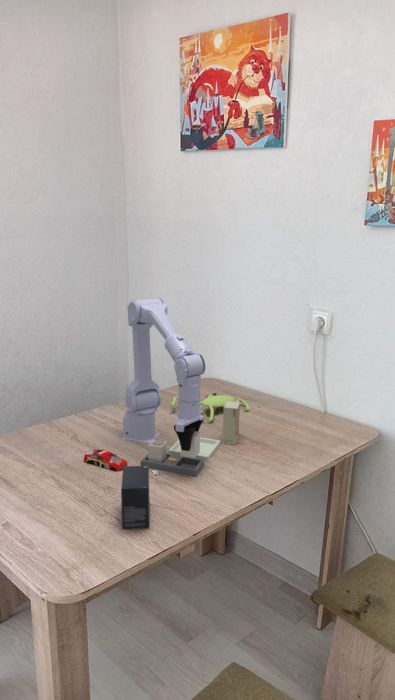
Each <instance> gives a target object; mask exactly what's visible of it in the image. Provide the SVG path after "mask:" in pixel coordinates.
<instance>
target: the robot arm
mask: <svg viewBox="0 0 395 700" xmlns="http://www.w3.org/2000/svg"><path fill="white" fill-rule="evenodd" d="M127 321H128V326H129V327H131V328H132V329H131V331H132V350H133V353H132V354H133V369H134V372H133V373H134V380H133V381H132V382H130V384H128V385H127V386H126V390H125V391H126V392H125V397H124V402H125V403H124V404H125V406H126V409H125V411H124V413H123V417H122V434H123V435H122V438H121V439H123V440H131V441H134V442H140V443H141V442H142V443H147V444H150V443H151V442H152V441H153V440H156V438H157V437H158V436H159V435H160V434H161V433H160V432H158V431H156V411H158V408H159V407H160V406H161V404H162V395H161V391H160V386H159V384H158V383H157V382H156V381H154V380H152V360H151V359H152V358H151V336H150V335H151V334H150V331H151V330H150V329H151V328H152V326H154V327H155V329H156V330H157V331H158V332H159V334H160V335H161V337H163V339H164V340H165V342H164V348H165V349H166V351H167V353H168V354H169V356H170V357H171V359H172V360H173V362H174V365H173V367H174V373H175V376H176V383H177V384H178V396H179V399H178V402H177V403H178V405H177V407H178V408H177V409H178V411H177V413H178V414H177V419H176V423H175V425H173V430H174V432H175V433H176V436H177V438H178V440H179V441H180V446H181V449H182V450H184V451H189V450H190V447H191V441H192V436H193V433H194V431H197V432H200V428H201V426H202V424H203V421H204V419H205V416H204V414H202V413H201V410H202V406H201V405H200V401H201V380H202V379H201V377H202V375H204V374H205V372H206V361H205V358H204V357H203V354H202V353H199V352H197V351H196V350H193V349H192V346H190V344H189V342H188V340H187V339H186V338H185V337H184V335H183V334H181V333H178V332H176V329H175V327H174V325H173V323H172V322H171V320H170V318H169V317H168V305H167V303H166V301H165V300H164V298H163V297H160V296H159V297H157V298H155V297H154V298H144V299H131V301H130V302H129V303H128V305H127Z"/></svg>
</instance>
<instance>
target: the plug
mask: <svg viewBox="0 0 395 700" xmlns="http://www.w3.org/2000/svg"><path fill="white" fill-rule="evenodd" d="M200 437H201V431H199V432H197V431H194V433H193V436H192V441H191V447H190V450H189V451H184V450H182V449H181V456H184V457H189V458H195V457H196V456H197V455H198V454H199V452H200Z"/></svg>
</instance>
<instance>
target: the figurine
mask: <svg viewBox="0 0 395 700" xmlns="http://www.w3.org/2000/svg"><path fill="white" fill-rule="evenodd" d="M177 400H179V395H176V396H173V398H172V402H171V403H170V404H169V407H170V408H173V407H174V406H175V404H176V403H177ZM226 401H230V402H240V404H241V403H242V404H243V407H242V410H243V411H244V412H249V411H250V406H249V404H248V403H247V401H245V400H244V399H243V398H238V399H237V400H236V401H235V398H234V397H233V396H230V395H225V394H220V395H218V394H217V392H214V393H212V394H207V395H205V398H204V399H203V400H202V401H201V400H200V406H201V405H202V406H205V407H208V408H209V410H210V417H209V418H208V416H207V415H206V413H205V412H204V411H203V410H202V409H201V414H202V415H203V416H204V419H205V420H206V421H207V422H208V423H211V422H212V421H213V419H214V418H215V417H214V415H215V414H214V413H215V411H216V410H218V408H221V409H224V406H225V403H226ZM202 424H205V421H204V420H203V422H202Z"/></svg>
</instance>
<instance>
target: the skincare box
mask: <svg viewBox="0 0 395 700" xmlns="http://www.w3.org/2000/svg"><path fill="white" fill-rule="evenodd" d="M240 408H241V402H240V401H239V402H236V401H234V402H230V401H226V403H225V406H224V407H223V413H222V415H223V416H222V441H221V442H222V445H228V446H237V444H238V441H239V435H240V433H239V432H240V411H241V410H240Z"/></svg>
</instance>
